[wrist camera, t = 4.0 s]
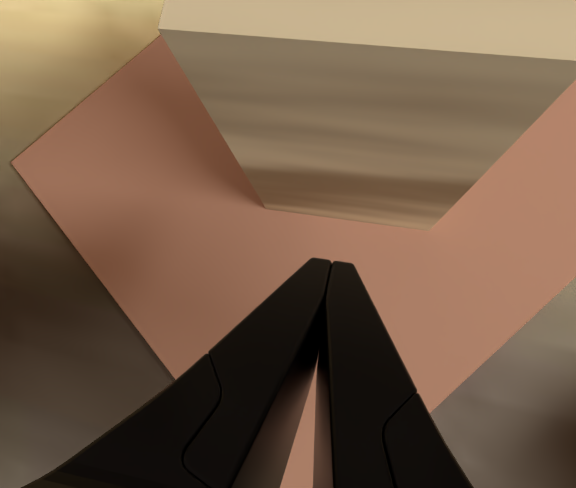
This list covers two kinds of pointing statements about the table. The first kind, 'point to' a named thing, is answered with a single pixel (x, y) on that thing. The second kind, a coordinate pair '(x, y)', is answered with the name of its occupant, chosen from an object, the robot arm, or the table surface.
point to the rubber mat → (296, 234)
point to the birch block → (372, 94)
